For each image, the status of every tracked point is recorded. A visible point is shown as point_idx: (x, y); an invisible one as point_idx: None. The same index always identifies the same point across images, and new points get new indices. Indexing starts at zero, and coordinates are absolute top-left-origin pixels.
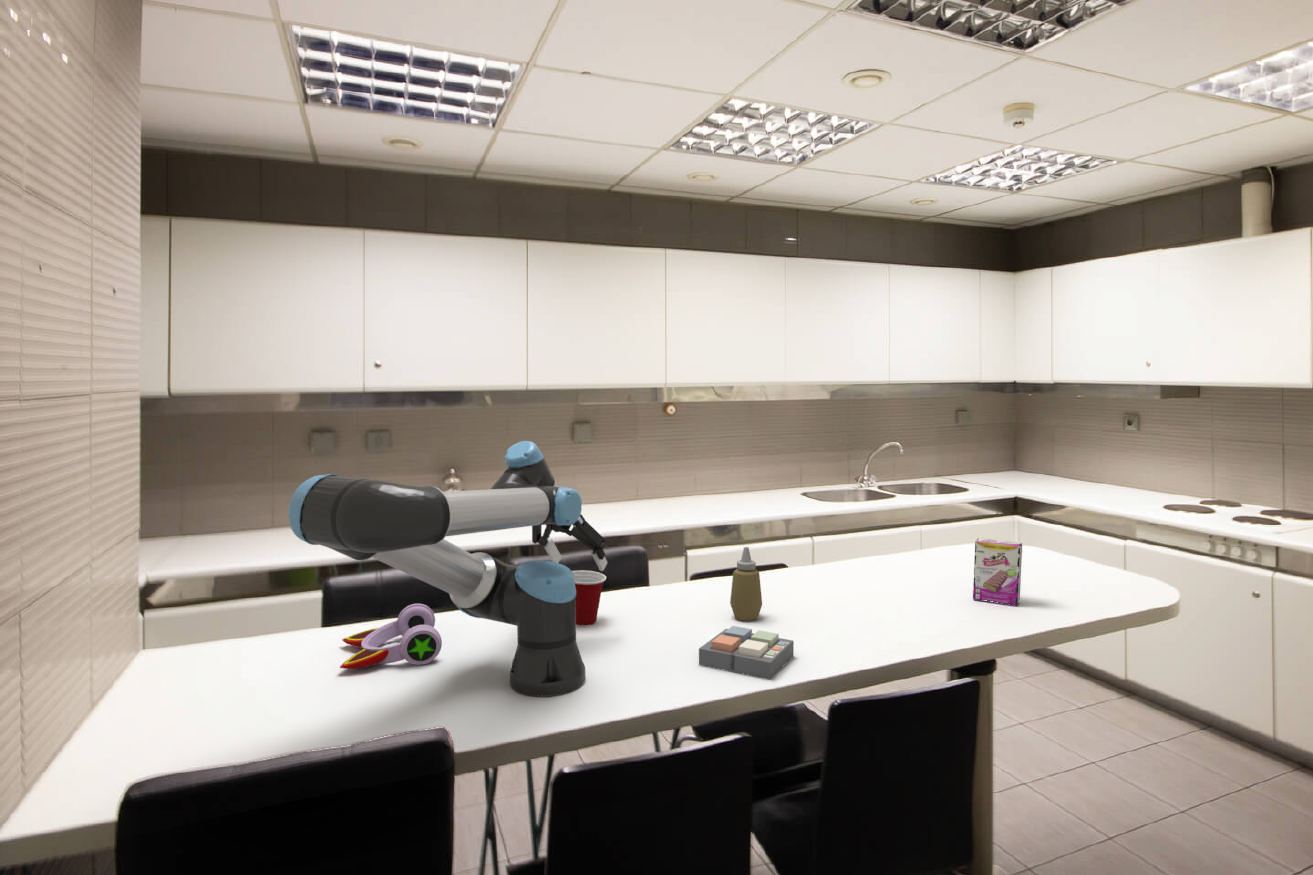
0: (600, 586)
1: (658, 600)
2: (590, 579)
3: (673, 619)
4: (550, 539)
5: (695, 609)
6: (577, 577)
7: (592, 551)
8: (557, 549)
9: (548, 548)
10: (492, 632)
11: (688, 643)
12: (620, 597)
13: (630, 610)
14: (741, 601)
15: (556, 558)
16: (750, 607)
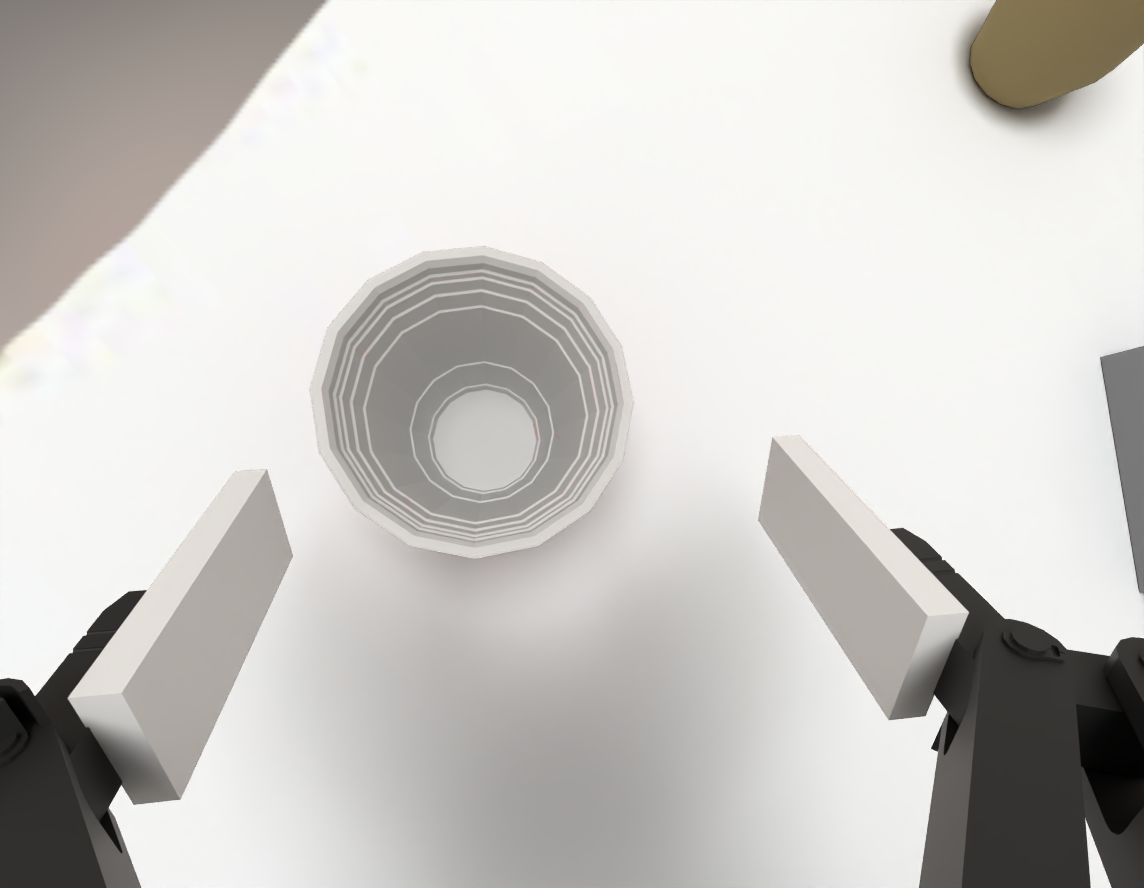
0: (601, 396)
1: (594, 27)
2: (443, 298)
3: (794, 218)
4: (104, 703)
5: (797, 66)
6: (367, 344)
7: (912, 710)
8: (221, 542)
9: (194, 740)
10: (179, 809)
11: (994, 428)
12: (411, 65)
13: (569, 204)
14: (1106, 60)
15: (265, 560)
16: (1113, 69)
